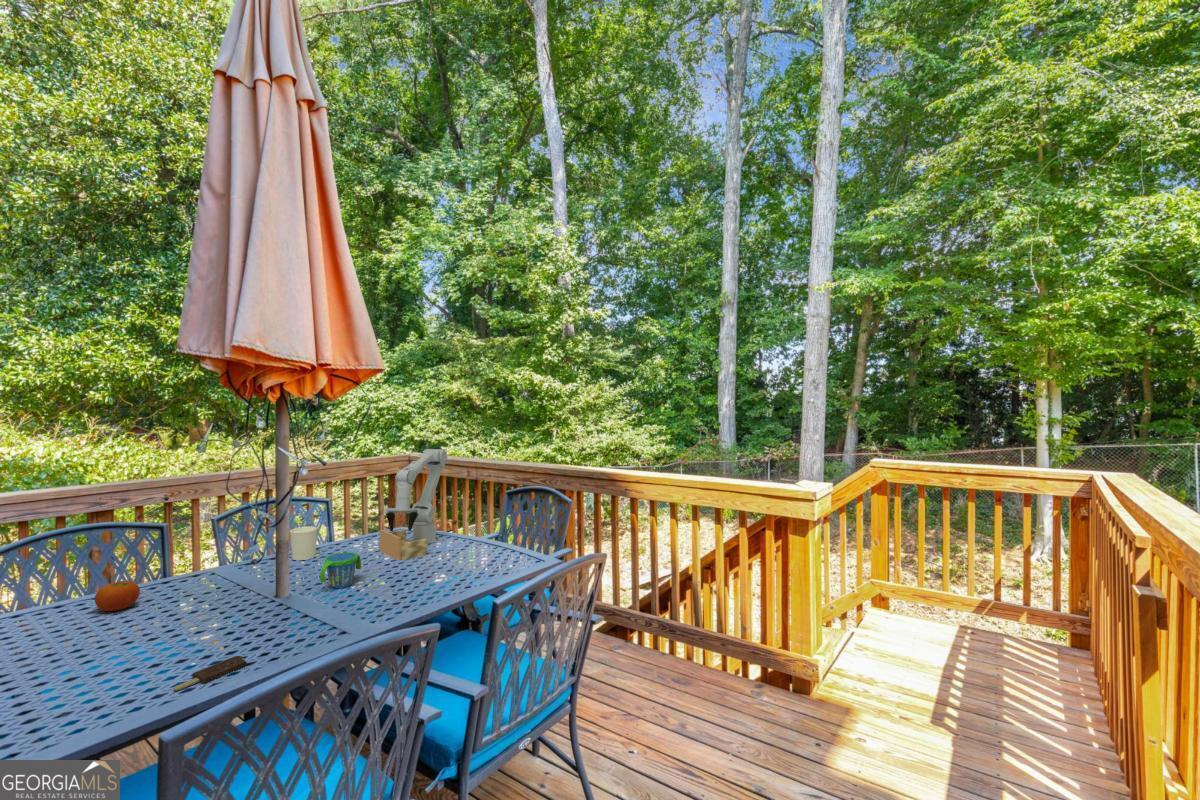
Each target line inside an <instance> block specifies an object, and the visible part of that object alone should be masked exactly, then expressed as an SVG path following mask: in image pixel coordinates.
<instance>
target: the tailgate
mask: <svg viewBox="0 0 1200 800" xmlns="http://www.w3.org/2000/svg"><path fill="white" fill-rule="evenodd" d="M379 552H381V553H382V554H384V555H386V556H389V557H390V558H392V559H394V560H397V561H402V560H401V537H398V536H396V535H394V534H391V533H390V531H387V530H384V529H379Z"/></svg>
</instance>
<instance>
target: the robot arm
mask: <svg viewBox="0 0 1200 800" xmlns="http://www.w3.org/2000/svg"><path fill="white" fill-rule="evenodd" d="M447 453H448V452H447V451H446V449H444V448H441V449H440V448H438V449H437V448H425V449H424V450H423V452H422V455H421V456H420V457H419V459H417V460H412V461H410V463H409V464H408V465H407V466H405V468H403V469H399V470H397V473H396V475H395V477H394V478H395V482H396V484H395V485H396V487H397V489H396V499H395V507H390V508H389V507H388V508H387V507H386V508H384V509H383V510H384V511H383V513H384V514H385V516H386V518H387V519H386V520H388V524H389V525H388V527H389V532H394V524H395V523H394V522H395V517H396V515H395V514H408V526H407V527H408V528H407V530H408V531H412V540H410V541H411V542H412V541H416V540H421V539H428V545H429V544H434V543H437V538H436V534H437V531H436V529H437V528H436V527H437V526H436V524H435V522H434V521H433V520H434V518H435V512H436V511H435V510H436V508H435V506H433V504H432V502H433V498H434V495H435V493H436V489H437V486H438V483H439V480H440V478H441V477H440V476H441V474H442V471H443V469H444V468H445V467H446V463H447V461H448V454H447ZM424 466H426V468H427V469H429V472H428V475H427V479H426V481H425V484H424V487H423V489H422V493H421V496H420V499H419V501H417V502H415V503H414V504H413V506H412V507H411V501H412V499H411V497H412V486H413V484H414V483H415V481H416V478H417V476H418V475H419V474H420V473H421V472H422V471H423V467H424Z"/></svg>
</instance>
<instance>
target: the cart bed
mask: <svg viewBox="0 0 1200 800" xmlns="http://www.w3.org/2000/svg"><path fill="white" fill-rule="evenodd" d="M389 533H391V534H394V535H396V536H398V537H401V560H400V561H405V560H410V559H415V558H419V557H423V556H427V555H428V548H429V547H428V545H429V544H428V539H421V540H416V541H413V540H409V539H407V530H406V529H403V530H397V531H389ZM411 541H412V542H411Z"/></svg>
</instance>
